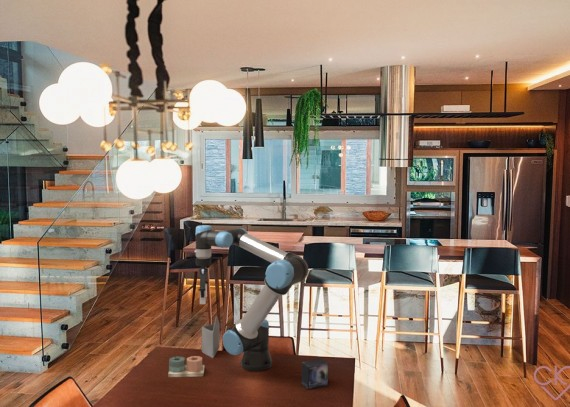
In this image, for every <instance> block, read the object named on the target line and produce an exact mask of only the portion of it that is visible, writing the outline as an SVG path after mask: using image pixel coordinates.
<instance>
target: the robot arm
mask: <svg viewBox="0 0 570 407" xmlns="http://www.w3.org/2000/svg"><path fill="white" fill-rule="evenodd" d="M194 236H195V250H194V253H195V257H196V258H195V266H197V267H200V268H199V269H198V274H199V288H198V290H197V291H198V292H199V305H206V303H207V302H206V301H207V300H206V299H207V297H208V291H207V290H208V284H209V281H208V279H207V278H208V273H209V272H208V271H209V269H208V267H210V266H211V265H212V247H216V248H221V249H222V248H223V249H224V248H226V249H227V248H230V247H231V246H233V245H234V246H237V247H239V248H242V249H243V250H245V251H247V252H250V253H252V254H253V255H255V256H257V257H259V258H261V259H263V260H265V261H266V262H269V263H270V264H269V265H268V266H267V268H266V271H265V277H264V281H263V282H264V286H263V287H262V288H261V290H260V292H259V293H258V294H257V295H256V297H255V299H254V301H253V302H252V304H251V305H250V307H249V308H248V309H247V311H246V313H245V314H244V316H243V317H242V318H241V319H238V320H237V321H236V322H235V324H233V326H232V328H231V329H228V330H226V331H225V332H224V333H223V335H222V345H223V347H224V349H225V351H226V352H227V353H228V354H230V355H232V356H238V355H241V354H243V355H242V357H241V360H240V367H241V368H242V369H244V370H246V371H250V372H251V371H252V372H261V371H266V370H269V369H270V368H271V367H273V366H272V365H273V359H272V357H271V353H270V350H269V342H270V340H269V339H270V338H269V337H270V335H269V334H270V330H269V329H270V325H269V320H267V319H266V318H267V317H268V316H269V314H270V312H271V311H272V309H273V308H274V306H275V305H276V304H277V302H278V301H279V299H280V298H281V297H282V296H285V295H287V294H288V293H289V291H290V290H291V288H292V286H293V285H295V284H298V283H301V282H303V281H304V280H305V279H306V278H307V276H308V274H309V265H308V263H307V261H306V260H305V259H304V258H303V257H301V255H298V254H296V253H294V252H292V251H288V252H287V251H284V250H282V249H280V248H278V247H276V246H275V245H272V244H270V243H268V242H266V241H264V240H261V239H259V238H257V237H256V236H253V235H251V234H249V233H248V231H247V230H246V229H245V228H243V227H242V228H241V227H240V228H239V227H236V228H231V229H227V230H213V229H212V226H211V225H210V224H209V225H207V224H202V225H196V227H195V234H194Z"/></svg>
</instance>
